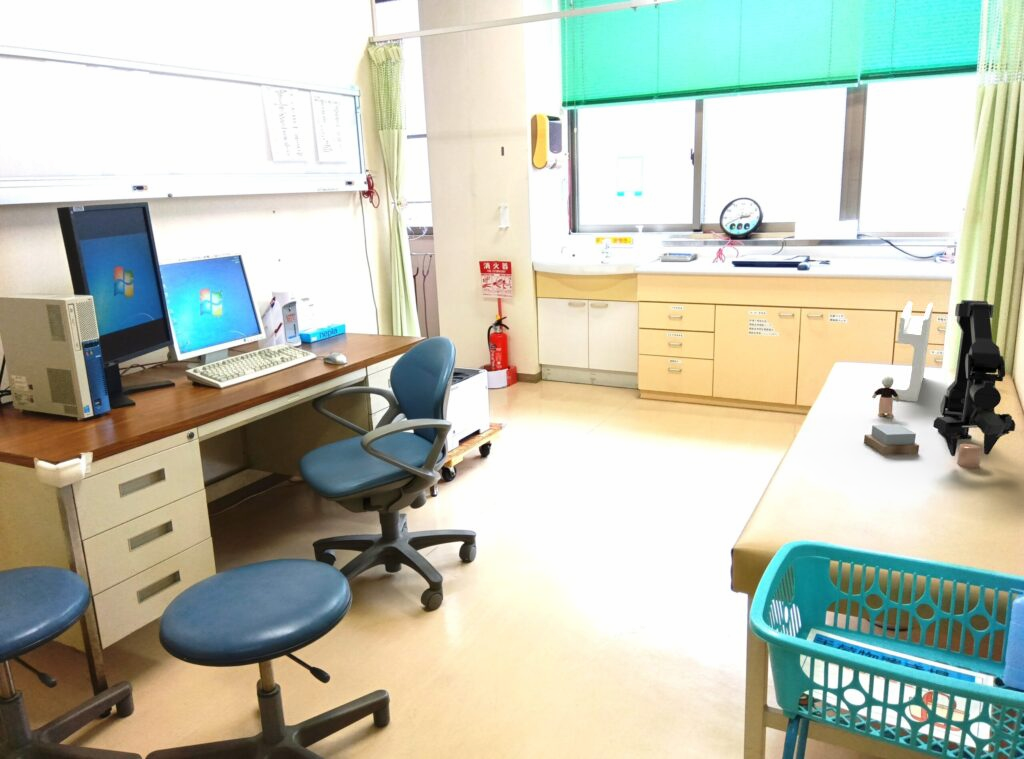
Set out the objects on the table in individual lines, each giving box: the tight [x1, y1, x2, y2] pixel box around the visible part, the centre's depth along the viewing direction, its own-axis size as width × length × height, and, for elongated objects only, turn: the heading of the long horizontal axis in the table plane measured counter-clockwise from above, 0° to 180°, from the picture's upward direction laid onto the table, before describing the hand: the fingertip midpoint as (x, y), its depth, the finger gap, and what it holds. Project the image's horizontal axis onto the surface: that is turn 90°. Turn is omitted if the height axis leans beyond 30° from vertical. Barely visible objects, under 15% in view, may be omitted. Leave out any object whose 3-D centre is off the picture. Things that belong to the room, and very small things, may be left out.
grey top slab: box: [871, 424, 917, 445], centre depth 210 cm, size 8×8×3 cm
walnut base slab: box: [863, 433, 920, 456], centre depth 211 cm, size 10×10×3 cm
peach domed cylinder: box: [956, 443, 983, 469], centre depth 198 cm, size 5×5×5 cm
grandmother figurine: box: [871, 376, 900, 418], centre depth 237 cm, size 8×4×13 cm, turn 71°
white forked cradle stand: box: [891, 301, 934, 403], centre depth 265 cm, size 35×8×28 cm, turn 149°
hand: (969, 455), depth 198 cm, fingers open, 9 cm apart
